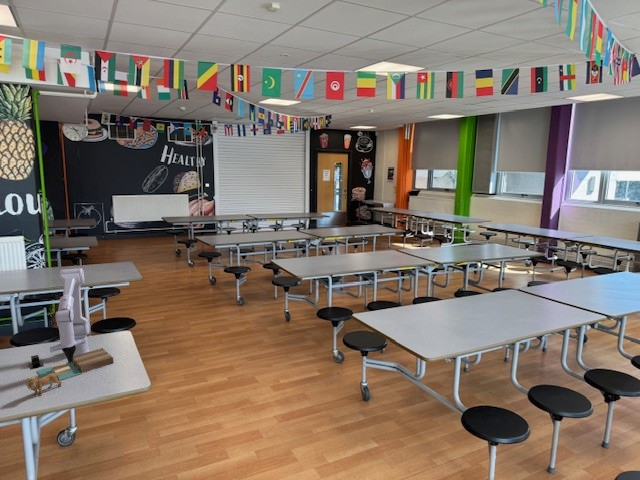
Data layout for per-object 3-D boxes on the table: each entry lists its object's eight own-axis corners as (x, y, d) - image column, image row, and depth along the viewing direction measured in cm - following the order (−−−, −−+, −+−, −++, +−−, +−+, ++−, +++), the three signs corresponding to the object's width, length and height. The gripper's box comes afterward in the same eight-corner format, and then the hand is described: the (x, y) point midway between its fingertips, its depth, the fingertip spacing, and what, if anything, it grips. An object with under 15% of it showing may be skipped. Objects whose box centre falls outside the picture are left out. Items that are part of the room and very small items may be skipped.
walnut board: (72, 362, 208) (71, 356, 207) (103, 353, 217) (102, 347, 217) (81, 373, 196) (81, 367, 196) (113, 363, 206) (113, 357, 205)
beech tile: (65, 362, 202) (65, 366, 203) (51, 366, 198) (51, 370, 198) (70, 368, 196) (71, 372, 196) (55, 372, 192) (56, 376, 192)
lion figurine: (33, 401, 173) (30, 380, 171) (24, 399, 174) (21, 378, 173) (66, 384, 186) (63, 365, 185) (57, 382, 188) (54, 363, 187)
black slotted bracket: (25, 363, 209) (24, 354, 208) (43, 359, 213) (42, 350, 212) (28, 372, 199) (27, 363, 198) (47, 367, 204) (45, 358, 203)
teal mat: (37, 371, 199) (37, 370, 198) (70, 361, 208) (70, 361, 208) (45, 385, 186) (45, 384, 186) (81, 374, 195) (81, 373, 195)
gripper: (50, 341, 190) (54, 369, 192) (86, 332, 199) (89, 359, 202) (47, 337, 195) (50, 364, 197) (82, 328, 204) (85, 355, 207)
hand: (70, 361), depth 200 cm, fingers closed
